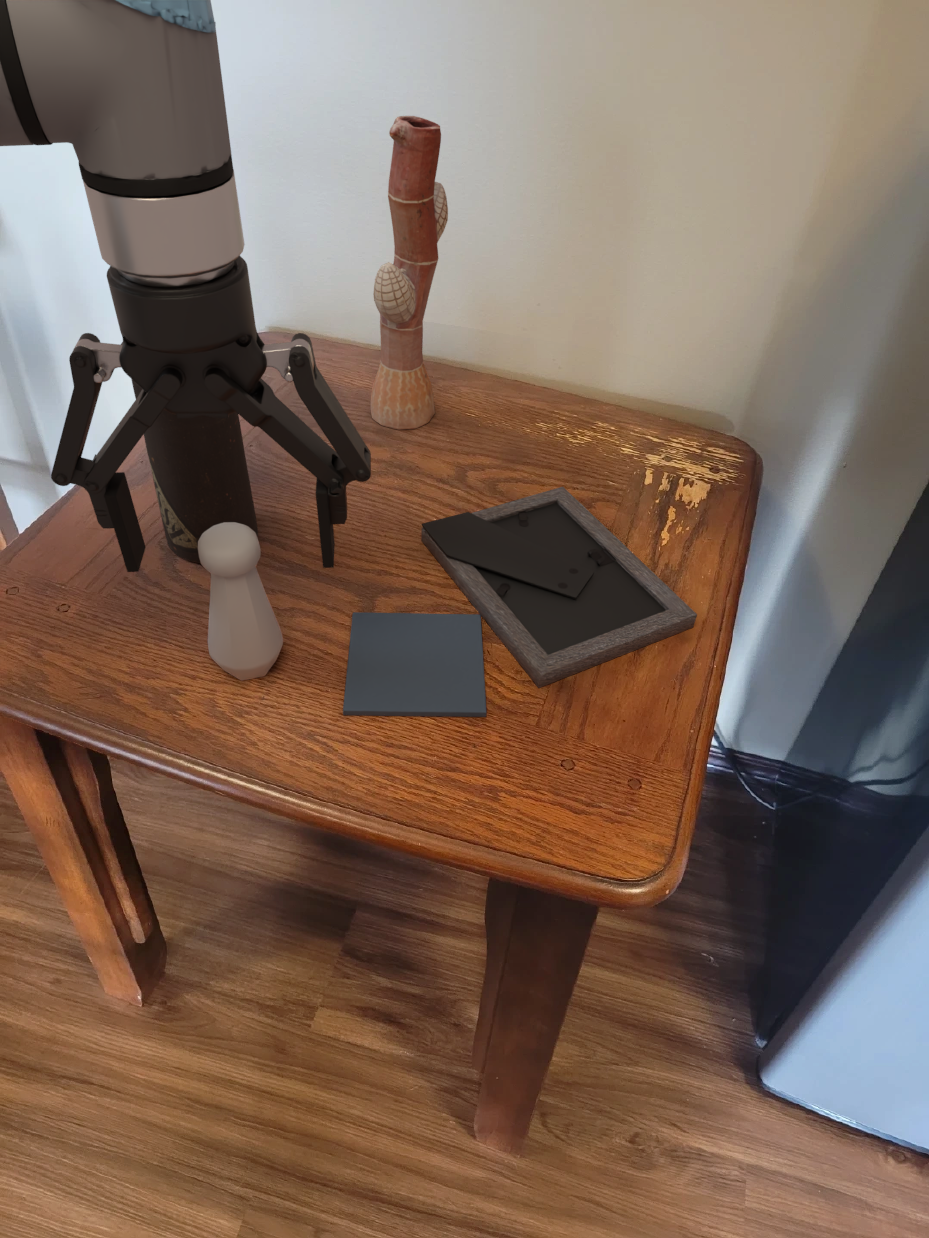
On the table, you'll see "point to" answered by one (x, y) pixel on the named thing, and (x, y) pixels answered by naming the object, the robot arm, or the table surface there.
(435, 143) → the vase
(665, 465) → the table surface
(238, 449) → the container
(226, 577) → the salt shaker
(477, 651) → the mat
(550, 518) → the picture frame
